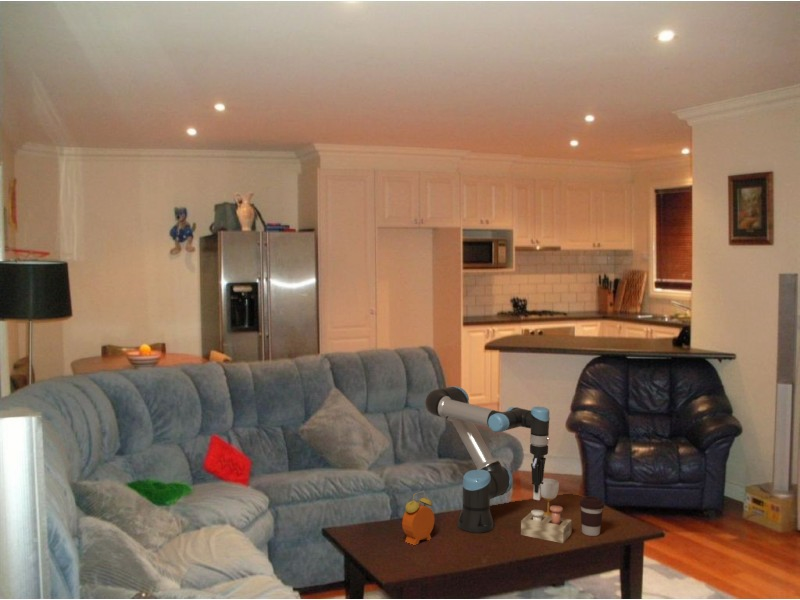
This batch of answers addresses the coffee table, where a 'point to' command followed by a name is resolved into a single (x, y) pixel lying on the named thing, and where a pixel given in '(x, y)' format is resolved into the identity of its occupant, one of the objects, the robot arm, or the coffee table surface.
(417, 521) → the alarm clock
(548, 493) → the cup
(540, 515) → the ivory plug
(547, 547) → the coffee table surface
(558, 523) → the terracotta plug
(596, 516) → the coffee cup
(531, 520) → the beech block
